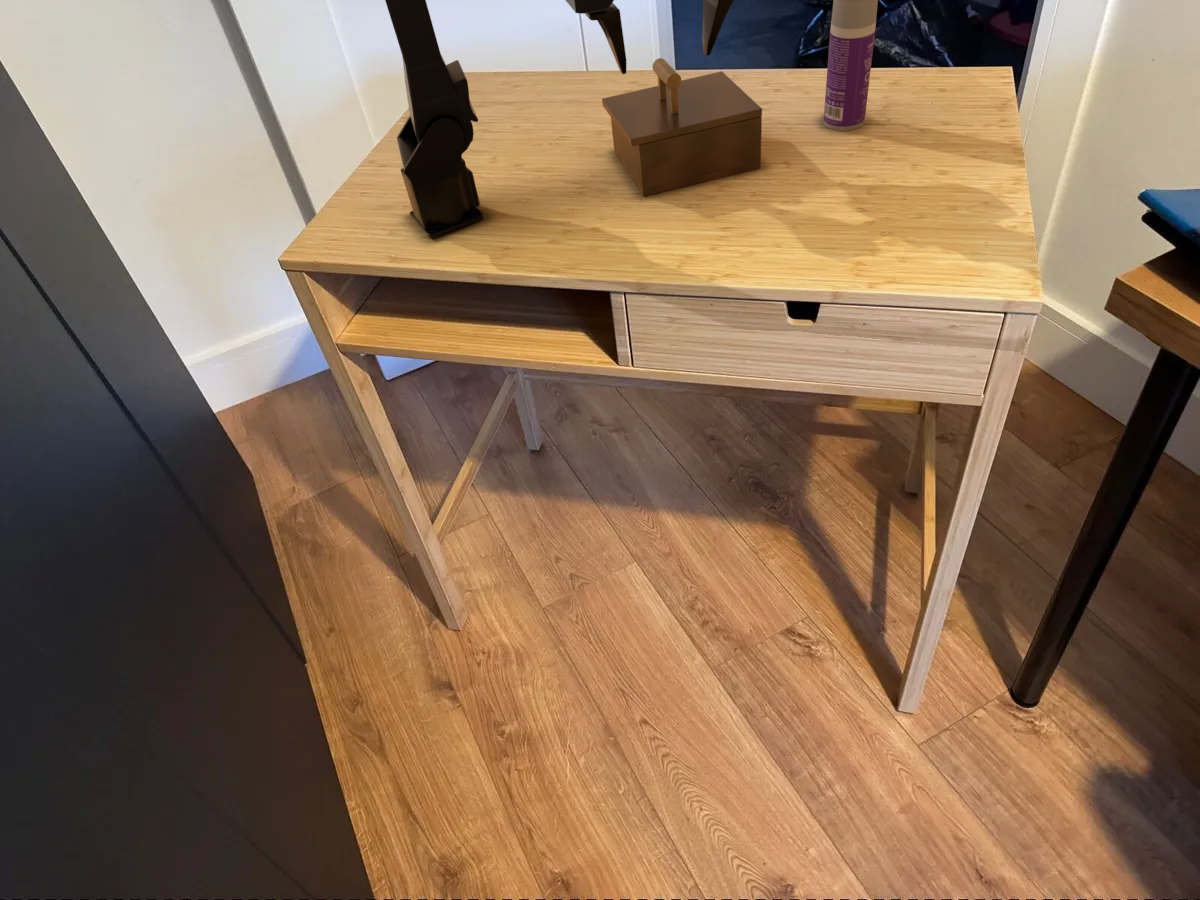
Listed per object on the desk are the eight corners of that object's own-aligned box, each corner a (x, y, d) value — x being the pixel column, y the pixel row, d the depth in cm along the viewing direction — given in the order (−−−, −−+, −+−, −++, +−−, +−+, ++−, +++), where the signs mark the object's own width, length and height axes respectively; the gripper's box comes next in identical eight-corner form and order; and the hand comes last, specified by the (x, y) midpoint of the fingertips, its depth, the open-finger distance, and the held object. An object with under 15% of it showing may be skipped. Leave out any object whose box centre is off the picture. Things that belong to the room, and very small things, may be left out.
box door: (631, 146, 85) (627, 98, 81) (602, 105, 93) (597, 59, 89) (762, 116, 86) (763, 67, 83) (722, 78, 94) (721, 32, 91)
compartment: (643, 196, 89) (639, 145, 85) (614, 153, 97) (609, 104, 93) (760, 168, 90) (762, 116, 86) (722, 127, 98) (722, 78, 94)
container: (868, 128, 94) (885, -15, 83) (826, 133, 94) (838, -10, 84) (860, 111, 97) (875, -29, 87) (819, 115, 98) (830, -24, 87)
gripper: (720, -146, 81) (721, 22, 92) (538, -111, 79) (562, 57, 90) (764, -127, 74) (760, 54, 85) (564, -87, 72) (586, 93, 83)
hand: (665, 63), depth 86 cm, fingers open, 9 cm apart
